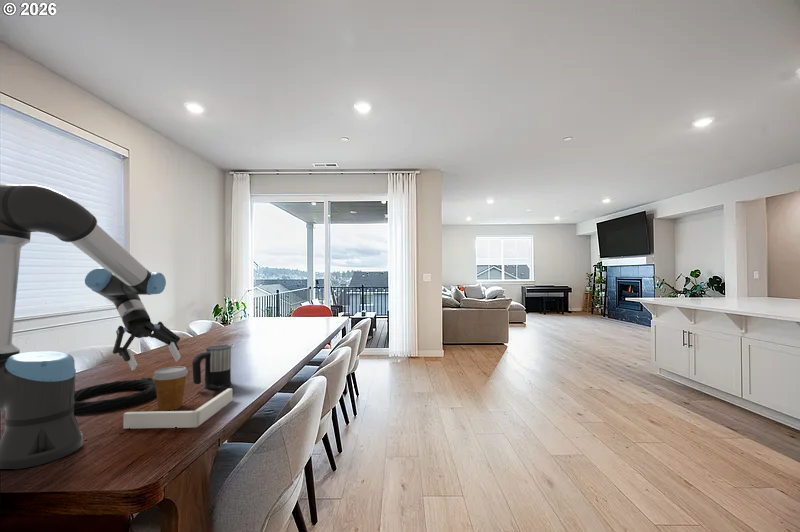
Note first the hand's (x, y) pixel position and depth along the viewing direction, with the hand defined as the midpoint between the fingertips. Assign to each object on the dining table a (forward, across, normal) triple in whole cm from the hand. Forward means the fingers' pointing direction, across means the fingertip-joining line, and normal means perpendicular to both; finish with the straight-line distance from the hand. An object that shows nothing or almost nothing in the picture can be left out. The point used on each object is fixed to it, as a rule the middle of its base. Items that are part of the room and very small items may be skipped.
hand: (157, 363), depth 121 cm
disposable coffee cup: (+16, +1, -3) cm, 16 cm away
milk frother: (+13, -20, -6) cm, 24 cm away
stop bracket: (+22, +2, +3) cm, 22 cm away
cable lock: (-3, +4, -22) cm, 23 cm away
